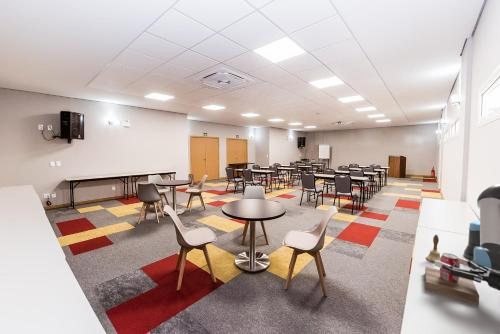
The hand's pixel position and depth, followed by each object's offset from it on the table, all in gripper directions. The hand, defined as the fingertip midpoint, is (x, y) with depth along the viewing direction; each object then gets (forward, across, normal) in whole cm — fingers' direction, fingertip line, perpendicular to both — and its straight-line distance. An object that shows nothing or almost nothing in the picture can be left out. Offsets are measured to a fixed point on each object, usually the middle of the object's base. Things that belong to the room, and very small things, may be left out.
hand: (443, 259), depth 111 cm
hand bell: (+17, +26, -13) cm, 33 cm away
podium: (-3, 0, -13) cm, 13 cm away
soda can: (-3, 0, -9) cm, 9 cm away
